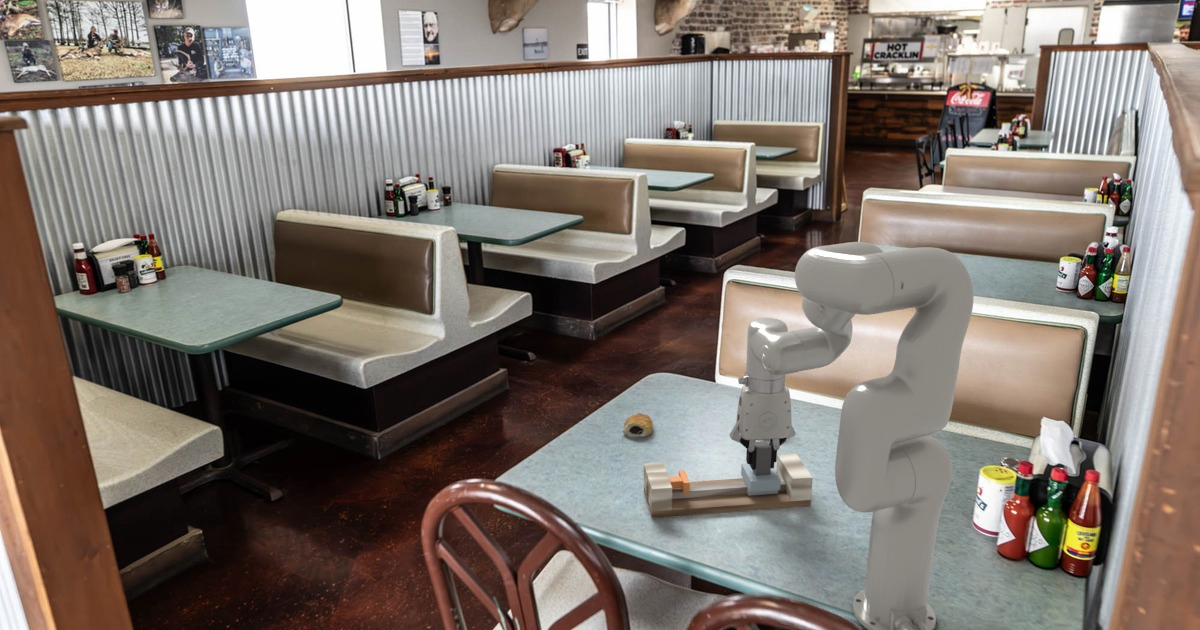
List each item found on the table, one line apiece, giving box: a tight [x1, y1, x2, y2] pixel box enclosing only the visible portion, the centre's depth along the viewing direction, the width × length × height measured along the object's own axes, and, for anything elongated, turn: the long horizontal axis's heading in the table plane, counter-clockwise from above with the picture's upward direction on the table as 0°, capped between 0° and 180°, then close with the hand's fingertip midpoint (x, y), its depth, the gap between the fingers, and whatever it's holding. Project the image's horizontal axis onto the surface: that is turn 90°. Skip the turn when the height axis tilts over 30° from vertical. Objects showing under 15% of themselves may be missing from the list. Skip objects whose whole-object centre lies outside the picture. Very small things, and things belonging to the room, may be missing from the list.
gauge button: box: [668, 469, 691, 494], centre depth 164 cm, size 5×6×2 cm
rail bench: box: [643, 452, 814, 519], centre depth 165 cm, size 10×32×6 cm, turn 96°
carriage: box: [740, 440, 781, 496], centre depth 165 cm, size 7×6×10 cm
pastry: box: [622, 412, 654, 438], centre depth 196 cm, size 9×7×4 cm
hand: (761, 464), depth 165 cm, fingers closed on carriage, 3 cm apart
